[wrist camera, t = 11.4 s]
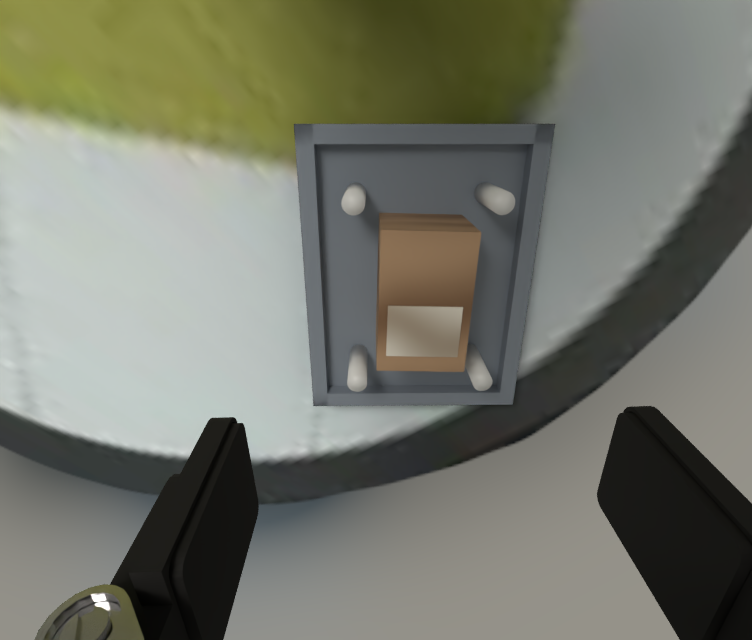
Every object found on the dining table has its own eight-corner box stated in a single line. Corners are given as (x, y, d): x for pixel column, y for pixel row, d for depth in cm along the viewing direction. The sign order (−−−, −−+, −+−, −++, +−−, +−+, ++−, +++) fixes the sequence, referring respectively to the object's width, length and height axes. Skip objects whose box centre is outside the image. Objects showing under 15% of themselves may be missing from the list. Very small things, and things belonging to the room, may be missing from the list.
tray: (300, 124, 25) (283, 122, 20) (540, 124, 25) (580, 122, 20) (317, 388, 32) (307, 433, 27) (503, 387, 32) (526, 431, 28)
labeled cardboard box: (378, 212, 26) (380, 230, 21) (462, 214, 26) (481, 232, 21) (375, 332, 29) (376, 371, 24) (449, 334, 29) (464, 372, 25)
